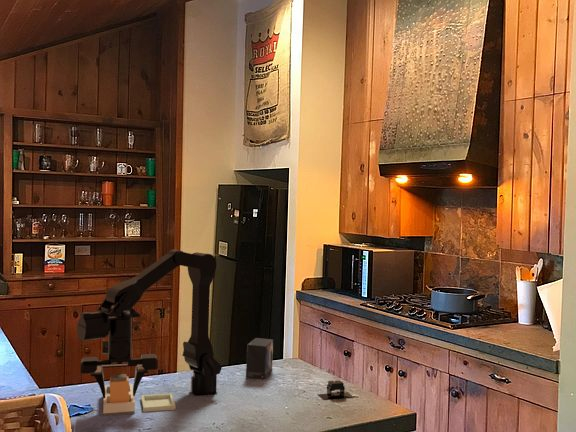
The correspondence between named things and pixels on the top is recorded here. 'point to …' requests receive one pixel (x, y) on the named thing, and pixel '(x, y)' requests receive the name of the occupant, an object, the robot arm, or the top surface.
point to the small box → (259, 358)
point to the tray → (158, 402)
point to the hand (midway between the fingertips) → (119, 396)
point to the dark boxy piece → (335, 395)
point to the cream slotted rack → (118, 404)
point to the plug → (119, 388)
